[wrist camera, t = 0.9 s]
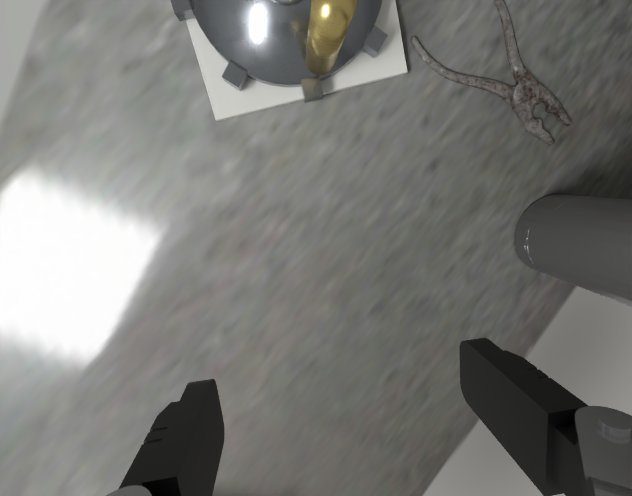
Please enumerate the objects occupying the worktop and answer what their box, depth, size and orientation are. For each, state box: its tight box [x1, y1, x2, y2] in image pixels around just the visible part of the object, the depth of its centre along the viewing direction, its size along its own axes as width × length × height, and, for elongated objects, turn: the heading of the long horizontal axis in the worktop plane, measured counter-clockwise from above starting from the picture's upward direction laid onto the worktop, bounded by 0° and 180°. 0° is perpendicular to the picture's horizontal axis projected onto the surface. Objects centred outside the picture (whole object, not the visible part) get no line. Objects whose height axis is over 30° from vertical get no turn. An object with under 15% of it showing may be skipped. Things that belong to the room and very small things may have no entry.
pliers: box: [411, 0, 572, 145], centre depth 35 cm, size 10×1×20 cm
